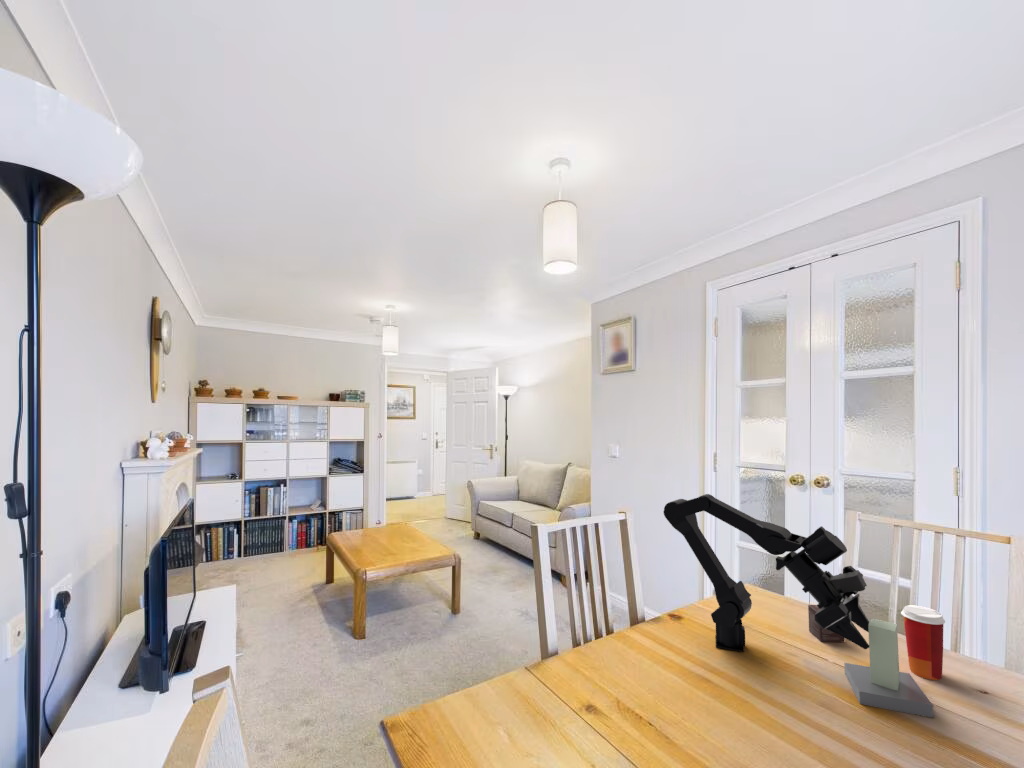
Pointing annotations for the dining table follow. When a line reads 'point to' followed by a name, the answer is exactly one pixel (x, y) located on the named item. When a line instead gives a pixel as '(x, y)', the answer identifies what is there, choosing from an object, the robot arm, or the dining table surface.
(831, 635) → the box
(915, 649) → the paper cup
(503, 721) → the dining table surface
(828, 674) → the dining table surface
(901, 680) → the slate slab
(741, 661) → the dining table surface
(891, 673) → the sage block
